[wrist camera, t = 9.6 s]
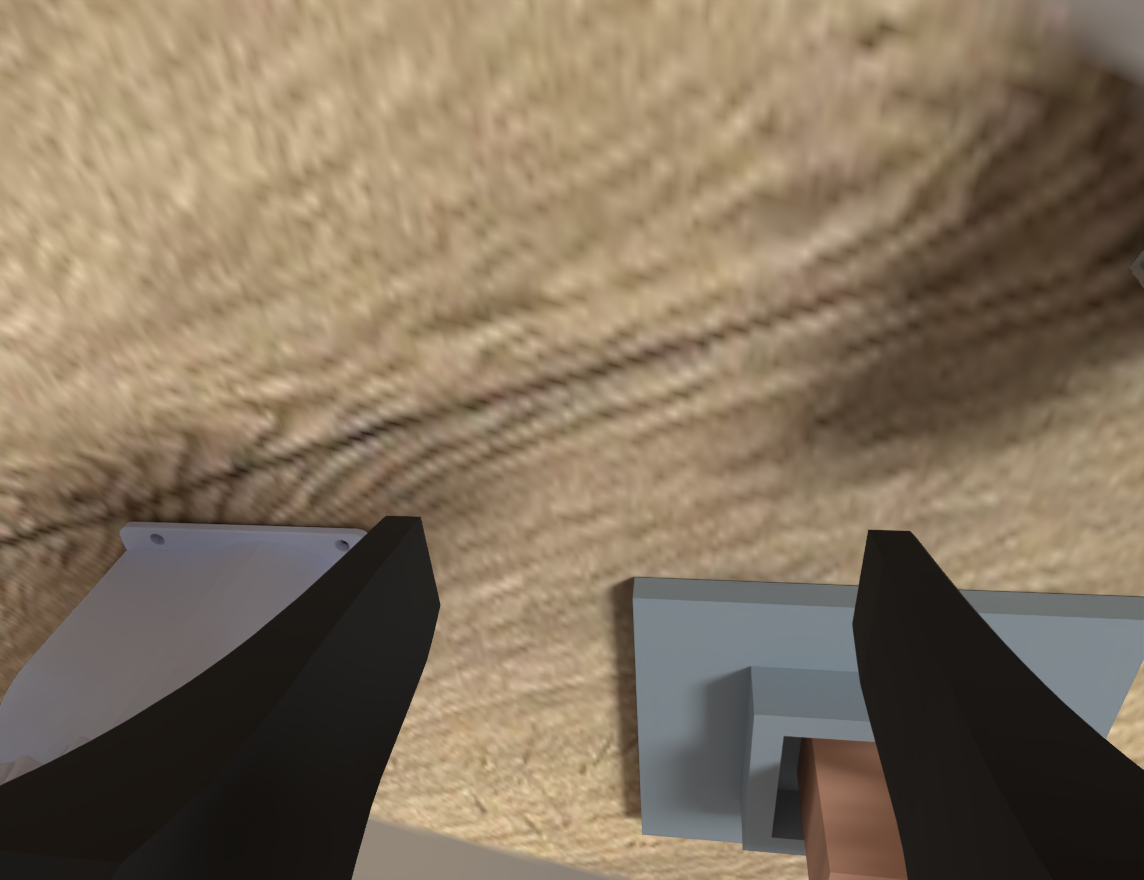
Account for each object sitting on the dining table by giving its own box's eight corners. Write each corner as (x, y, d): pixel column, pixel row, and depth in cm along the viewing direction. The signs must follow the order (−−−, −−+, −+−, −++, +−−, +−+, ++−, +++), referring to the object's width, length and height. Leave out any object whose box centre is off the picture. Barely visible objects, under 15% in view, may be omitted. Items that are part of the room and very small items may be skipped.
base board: (643, 812, 35) (639, 881, 32) (634, 577, 27) (628, 644, 25) (1035, 845, 32) (1062, 922, 30) (1146, 597, 25) (1196, 673, 22)
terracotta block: (796, 771, 30) (815, 939, 25) (807, 702, 28) (830, 872, 23) (906, 779, 30) (948, 953, 25) (926, 710, 27) (976, 885, 23)
